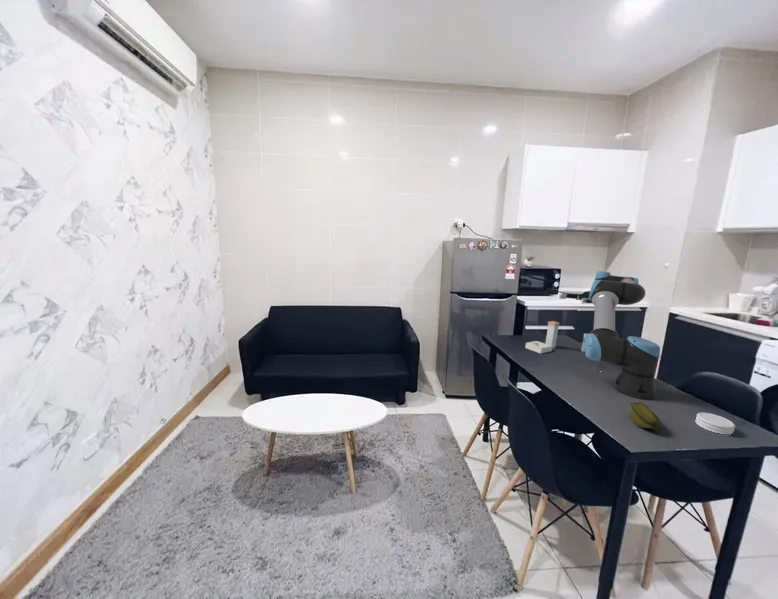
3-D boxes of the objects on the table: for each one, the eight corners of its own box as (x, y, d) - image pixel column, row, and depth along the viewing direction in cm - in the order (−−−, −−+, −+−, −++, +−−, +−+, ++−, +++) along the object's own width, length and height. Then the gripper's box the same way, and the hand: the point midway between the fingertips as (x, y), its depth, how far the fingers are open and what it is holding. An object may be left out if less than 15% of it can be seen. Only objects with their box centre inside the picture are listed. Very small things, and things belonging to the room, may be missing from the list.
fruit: (617, 419, 122) (620, 402, 121) (633, 412, 128) (636, 396, 127) (653, 436, 113) (657, 418, 111) (669, 427, 119) (673, 410, 118)
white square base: (551, 352, 193) (552, 346, 192) (540, 355, 187) (541, 348, 187) (535, 347, 201) (536, 340, 200) (525, 349, 196) (526, 342, 195)
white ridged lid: (714, 421, 126) (716, 412, 125) (741, 437, 116) (744, 427, 115) (687, 419, 126) (689, 411, 125) (712, 435, 116) (715, 426, 115)
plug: (555, 349, 199) (559, 322, 196) (550, 350, 197) (555, 323, 194) (548, 347, 203) (552, 321, 200) (544, 348, 201) (548, 321, 197)
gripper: (610, 307, 199) (591, 309, 188) (570, 299, 220) (550, 300, 209) (613, 294, 197) (593, 296, 186) (571, 287, 218) (552, 288, 207)
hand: (570, 298), depth 197 cm, fingers open, 13 cm apart
